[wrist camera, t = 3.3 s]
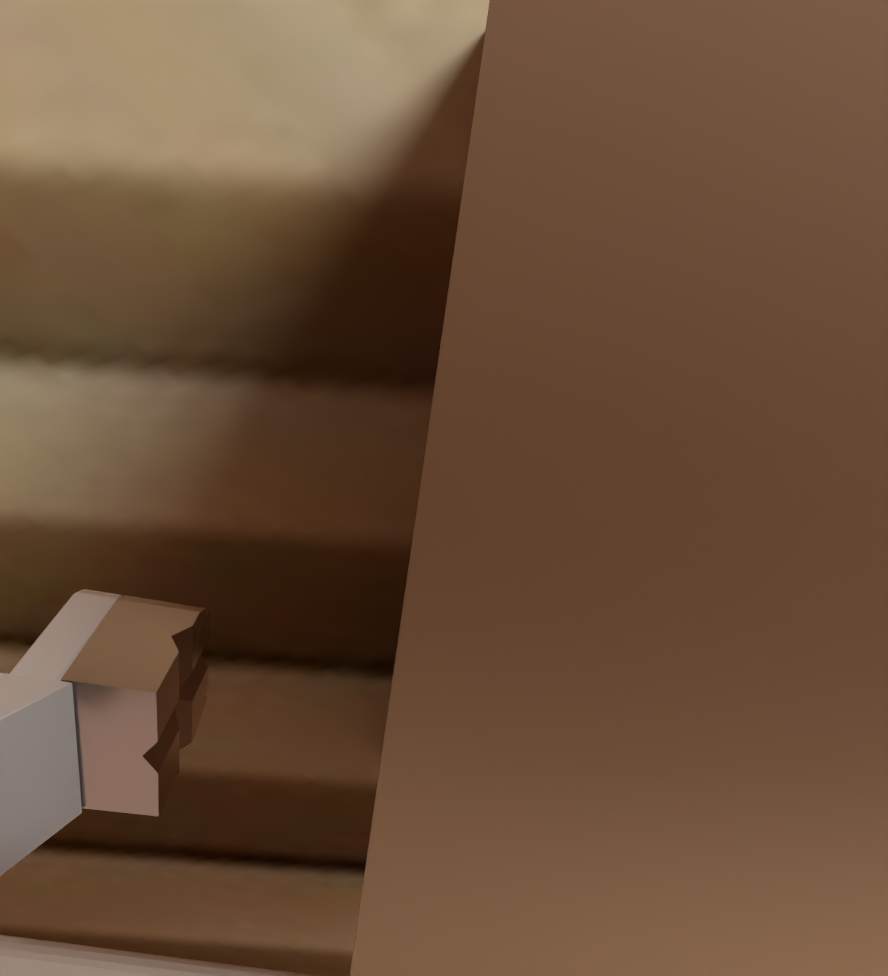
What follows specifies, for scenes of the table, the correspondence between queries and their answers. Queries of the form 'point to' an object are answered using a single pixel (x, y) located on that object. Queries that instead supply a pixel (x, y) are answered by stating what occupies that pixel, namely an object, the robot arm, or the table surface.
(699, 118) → the picture frame
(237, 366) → the table surface
